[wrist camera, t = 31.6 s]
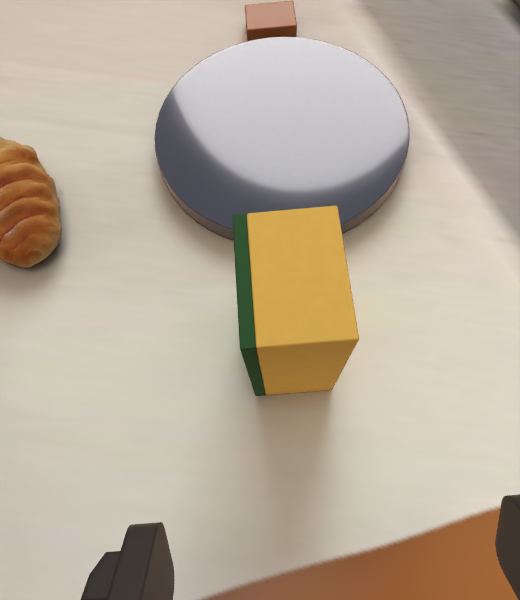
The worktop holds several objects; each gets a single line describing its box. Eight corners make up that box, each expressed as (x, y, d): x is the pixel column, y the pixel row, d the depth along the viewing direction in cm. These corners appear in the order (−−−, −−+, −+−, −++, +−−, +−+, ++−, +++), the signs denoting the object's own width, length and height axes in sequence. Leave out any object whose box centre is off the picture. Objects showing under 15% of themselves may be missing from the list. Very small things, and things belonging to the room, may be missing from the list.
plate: (158, 259, 30) (151, 248, 28) (161, 64, 37) (156, 48, 35) (428, 235, 29) (435, 223, 28) (380, 43, 36) (384, 25, 35)
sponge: (255, 396, 26) (240, 349, 17) (249, 301, 28) (232, 213, 19) (332, 389, 26) (359, 339, 17) (319, 295, 28) (337, 204, 19)
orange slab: (248, 46, 37) (246, 29, 35) (246, 22, 38) (244, 4, 37) (296, 42, 37) (296, 25, 35) (292, 17, 38) (293, -1, 36)
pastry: (93, 238, 31) (68, 207, 27) (3, 292, 29) (-36, 267, 26) (36, 151, 34) (7, 113, 30) (-47, 197, 33) (-87, 163, 29)
